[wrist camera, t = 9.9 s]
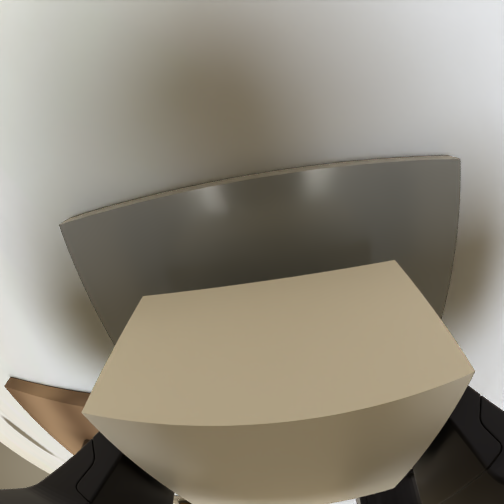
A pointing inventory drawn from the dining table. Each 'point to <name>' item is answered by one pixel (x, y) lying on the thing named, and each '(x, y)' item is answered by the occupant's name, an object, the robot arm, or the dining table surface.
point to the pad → (271, 231)
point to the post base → (55, 411)
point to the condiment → (180, 500)
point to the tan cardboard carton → (281, 387)
